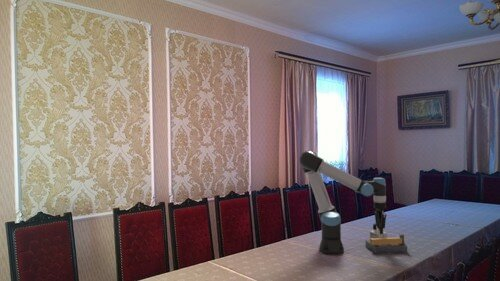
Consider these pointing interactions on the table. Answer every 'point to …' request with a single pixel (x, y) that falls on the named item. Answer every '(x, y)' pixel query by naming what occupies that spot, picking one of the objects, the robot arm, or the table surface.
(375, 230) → the container
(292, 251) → the table surface
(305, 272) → the table surface
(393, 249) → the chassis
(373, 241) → the bar
